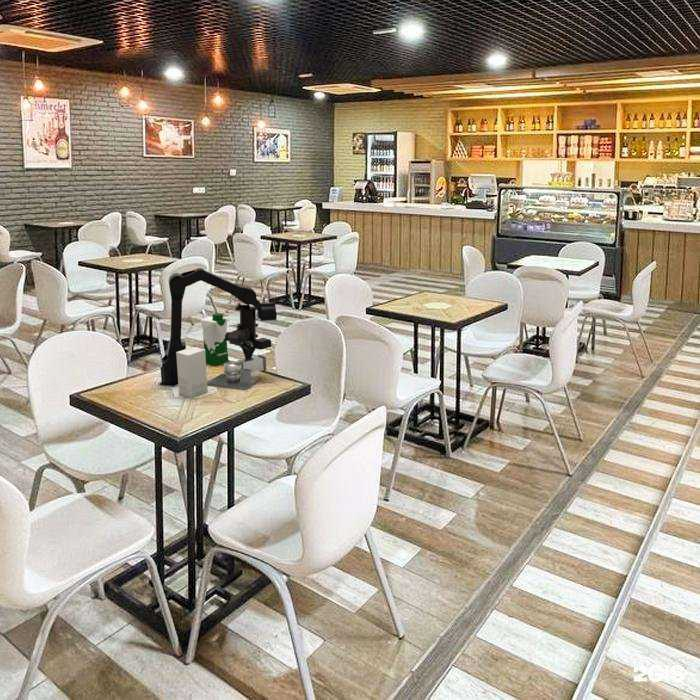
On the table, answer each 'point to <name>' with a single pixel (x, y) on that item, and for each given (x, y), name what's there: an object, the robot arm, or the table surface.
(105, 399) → the table surface
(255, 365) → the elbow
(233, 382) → the base
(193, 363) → the skincare box
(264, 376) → the table surface
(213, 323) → the milk carton
